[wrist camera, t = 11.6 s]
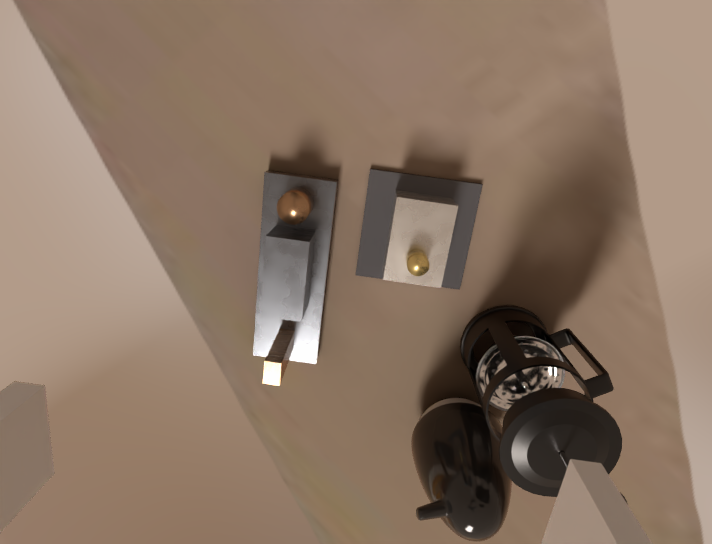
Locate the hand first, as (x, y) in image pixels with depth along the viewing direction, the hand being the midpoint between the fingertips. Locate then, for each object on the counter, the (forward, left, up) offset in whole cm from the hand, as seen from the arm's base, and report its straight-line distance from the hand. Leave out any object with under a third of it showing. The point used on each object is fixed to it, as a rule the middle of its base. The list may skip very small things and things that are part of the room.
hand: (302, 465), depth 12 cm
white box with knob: (+2, +6, -36) cm, 37 cm away
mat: (+2, +6, -37) cm, 37 cm away
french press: (+13, +18, -37) cm, 43 cm away
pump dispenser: (+24, +14, -37) cm, 46 cm away
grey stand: (+8, -6, -37) cm, 38 cm away
